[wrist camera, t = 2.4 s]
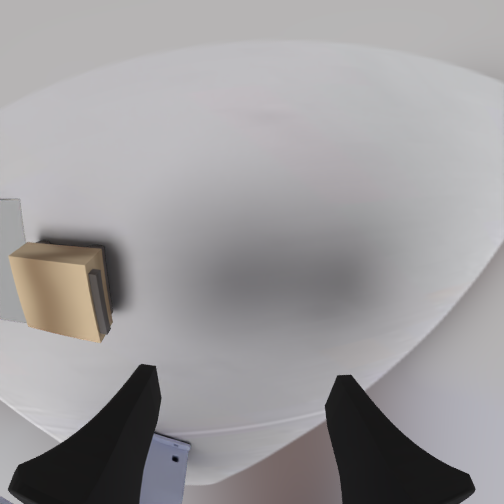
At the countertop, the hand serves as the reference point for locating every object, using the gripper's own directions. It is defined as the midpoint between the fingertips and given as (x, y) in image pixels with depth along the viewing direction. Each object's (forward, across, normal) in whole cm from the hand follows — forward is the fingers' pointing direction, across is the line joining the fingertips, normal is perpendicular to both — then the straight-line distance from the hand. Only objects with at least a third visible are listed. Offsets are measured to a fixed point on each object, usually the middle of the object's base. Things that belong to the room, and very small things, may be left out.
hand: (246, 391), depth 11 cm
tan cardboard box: (+8, +12, 0) cm, 14 cm away
